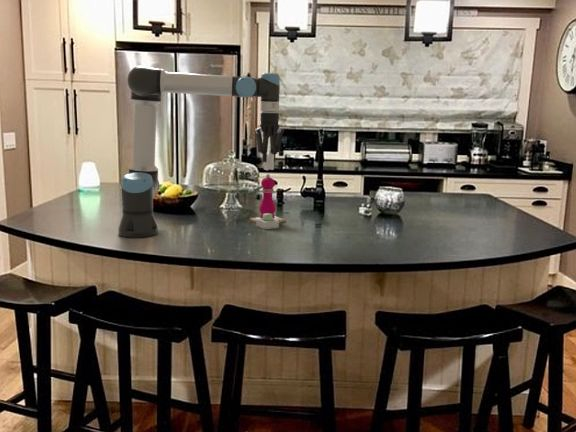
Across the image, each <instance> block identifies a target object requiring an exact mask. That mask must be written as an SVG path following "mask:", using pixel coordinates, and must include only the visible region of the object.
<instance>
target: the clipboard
mask: <svg viewBox="0 0 576 432" xmlns="http://www.w3.org/2000/svg"><path fill="white" fill-rule="evenodd" d="M256 219H260V216H259V217H257V216H256V217H250V218H248V220H249V221H250V222H253V223H255V224H256ZM274 219H276V220H278V221H279V224H280V223H286V222H287V221H286V219H284V218H281V217H278V216H276V215H274Z"/></svg>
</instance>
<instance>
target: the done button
mask: <svg viewBox="0 0 576 432" xmlns="http://www.w3.org/2000/svg"><path fill="white" fill-rule="evenodd" d="M263 221H265V222H266V221H272V214H270V213H265V214H263Z"/></svg>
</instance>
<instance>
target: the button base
mask: <svg viewBox="0 0 576 432" xmlns="http://www.w3.org/2000/svg"><path fill="white" fill-rule="evenodd" d="M255 224H256V227H257V228H261V229H263V230H271V229H279V227H280V223H279V221H278V220H276V219H273V218H272V221H266V222H265V221H263V218H261V219H256V223H255Z"/></svg>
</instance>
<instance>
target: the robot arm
mask: <svg viewBox="0 0 576 432" xmlns="http://www.w3.org/2000/svg"><path fill="white" fill-rule="evenodd" d="M126 80H127V86H128V88H129V89H130V100H131V102H132V103H133V105H134V117H133V118H134V121H133V151H132V152H133V154H132V158H133V159H132V164H131V165H130V166H129V168H128V173H126V174H124V175H122V177H121V182H120V186H121V206H122V211H121V212H122V217H121V219H120V223H119V226H118V236H119V237H120V236H121V237H122V238H132V239H137V238H138V239H141V238H150V237H153V236H156V235H158V234H159V227H158V224H157V222H156V218H155V215H154V197H155V196H156V195H157V194H158V192H159V188H160V181H159V168H158V167H157V166H156V165H155V162H156V161H155V160H156V137H157V132H156V131H157V111H158V109H157V107H158V105H160V104H161V102H162V96H163V95H164V94H168V93H169V94H183V95H184V94H187V95H203V96H218V97H219V96H221V97H223V96H224V97H236V98H237V97H238V98H260V124H259V127H257V128H255V129H253V130H254V133H255V136H256V145H257V153H260V154H261V155H262V156H261V159H262V160H261V162H263V170H265V171H269V170H271V171H273V170H274V168H275V167H274V166H275V162H276V157H277V154H278V153H280V152H281V147H282V140H283V134H284V132H285V128H282V127H280V125H279V122H280V117H279V116H280V114H279V112H280V87H281V85H280V82H281V81H280V75H279V74H278V73H274V72H273V73H268V72H267V73H265V72H263V73H261V75H260V77H250V76H239V75H238V76H236V75H235V76H233V75H219V74H202V73H191V72H190V73H189V72H171V71H169V72H168V71H166V70H165V69H163V68H154V67H153V66H149V65H143V64H141V65H137V66H135V67H133V68H132V69H131V70H130V71H129V73H128V75H127V79H126ZM269 144H270V147H268V146H269ZM269 148H270V153H268V151H269V150H268V149H269Z"/></svg>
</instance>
